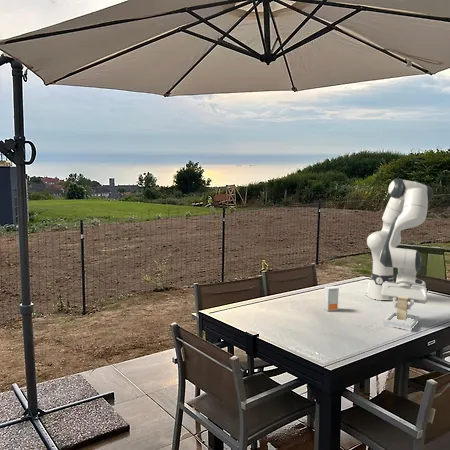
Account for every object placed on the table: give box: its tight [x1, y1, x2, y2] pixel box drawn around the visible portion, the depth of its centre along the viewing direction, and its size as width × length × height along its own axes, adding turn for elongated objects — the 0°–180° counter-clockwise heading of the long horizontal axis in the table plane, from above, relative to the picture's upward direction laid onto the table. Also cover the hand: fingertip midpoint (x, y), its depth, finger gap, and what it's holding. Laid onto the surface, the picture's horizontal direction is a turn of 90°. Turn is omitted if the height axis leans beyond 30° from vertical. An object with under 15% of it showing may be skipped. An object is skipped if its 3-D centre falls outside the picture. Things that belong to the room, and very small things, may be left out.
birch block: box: [396, 297, 409, 321], centre depth 196 cm, size 4×4×10 cm
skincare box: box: [323, 285, 339, 312], centre depth 217 cm, size 6×4×12 cm
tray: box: [383, 311, 420, 329], centre depth 196 cm, size 16×12×3 cm
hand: (402, 308), depth 195 cm, fingers closed on birch block, 4 cm apart
